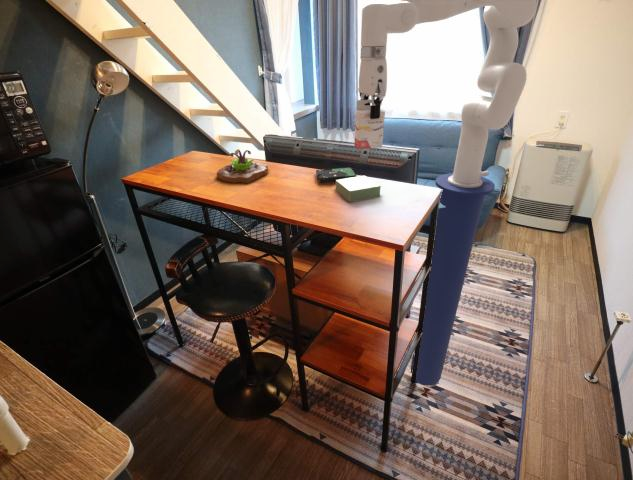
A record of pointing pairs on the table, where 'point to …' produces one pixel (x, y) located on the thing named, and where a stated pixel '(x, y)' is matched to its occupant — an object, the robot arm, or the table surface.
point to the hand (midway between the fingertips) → (369, 116)
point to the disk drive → (334, 174)
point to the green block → (357, 188)
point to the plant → (242, 170)
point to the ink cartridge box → (368, 127)
